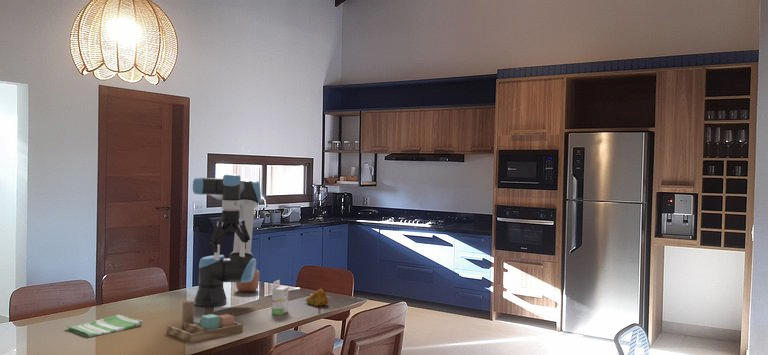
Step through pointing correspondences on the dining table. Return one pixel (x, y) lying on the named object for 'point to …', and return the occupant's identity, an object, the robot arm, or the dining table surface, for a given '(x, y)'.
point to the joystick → (206, 321)
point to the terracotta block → (226, 320)
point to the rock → (317, 298)
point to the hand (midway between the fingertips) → (229, 258)
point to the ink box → (279, 298)
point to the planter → (249, 284)
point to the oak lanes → (202, 332)
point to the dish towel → (105, 326)
